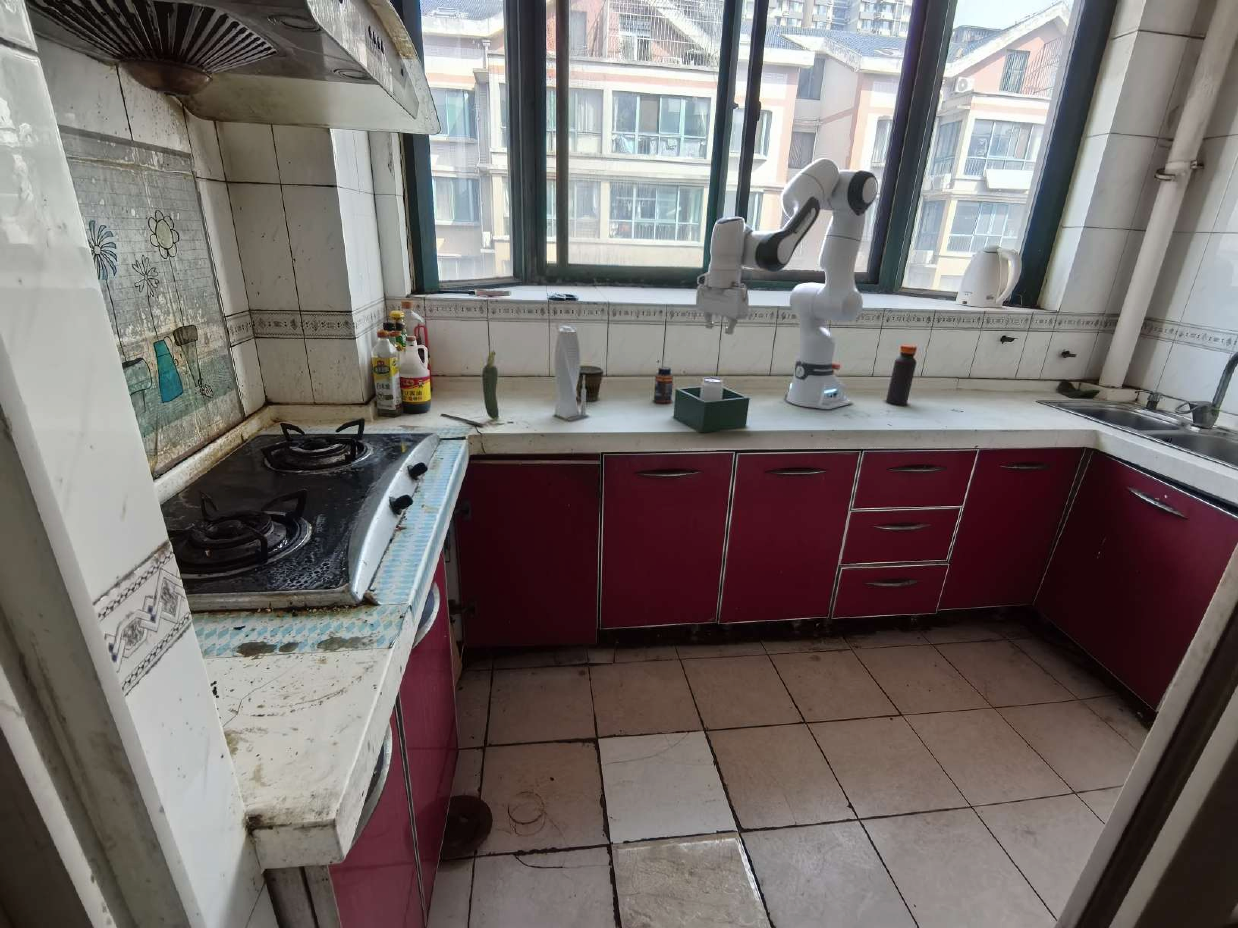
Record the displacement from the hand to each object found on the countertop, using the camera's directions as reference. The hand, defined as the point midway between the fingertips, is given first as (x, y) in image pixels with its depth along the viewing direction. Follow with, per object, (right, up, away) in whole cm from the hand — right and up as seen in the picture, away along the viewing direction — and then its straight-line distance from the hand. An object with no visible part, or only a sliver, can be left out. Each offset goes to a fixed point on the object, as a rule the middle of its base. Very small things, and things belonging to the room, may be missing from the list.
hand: (718, 331), depth 168 cm
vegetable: (-65, -25, +3) cm, 70 cm away
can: (-1, -24, +10) cm, 26 cm away
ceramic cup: (-40, -17, +27) cm, 51 cm away
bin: (-1, -25, +10) cm, 27 cm away
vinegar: (+69, -16, +40) cm, 82 cm away
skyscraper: (-44, -24, +9) cm, 51 cm away
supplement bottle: (-14, -17, +29) cm, 36 cm away
